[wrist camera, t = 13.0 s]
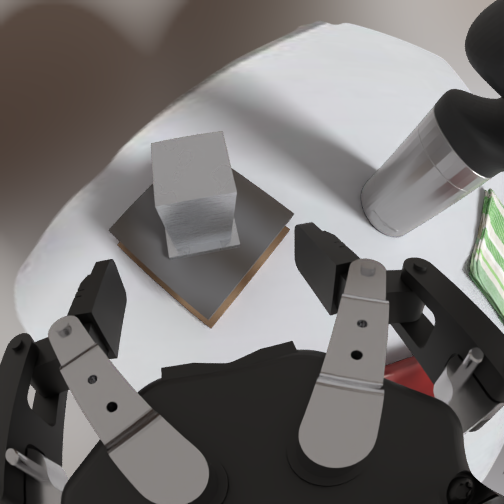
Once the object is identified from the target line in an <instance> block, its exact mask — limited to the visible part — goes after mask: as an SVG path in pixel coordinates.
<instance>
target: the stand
mask: <svg viewBox="0 0 504 504" xmlns="http://www.w3.org/2000/svg"><path fill="white" fill-rule="evenodd" d="M231 169H232V168H231ZM232 173H233V177H234V182H235V186H236V190H237V196H236V203H235V211H234V219H235V223H236V228H237V232H238V237H239V241H240V247H237V248H232V249H226V250H221V251H216V252H211V253H205V254H200V255H195V256H190V257H184V258H179V259H174V260H170V258H169V253H168V246H167V239H166V231H165V226H164V224H163V222H162V220H161V218H160V216H159V214H158V212H157V209H156V207H155V198H154V186H153V184H152V185H151V186H150V187H149V188H148V189H147V190H146V191H145V192H144V193H143V194H142V195H141V196H140V197H139V198H138V199H137V200H136V201H135V202H134V203H133V204H132V205H131V206H130V208H129V209H128V210H127V211H126V212H125V213H124V214H123V215H122V216H121V217H120V218H119V219H118V220H117V222H116V223H115V224H114V225H113V226H112V227H111V228H110V229H109V231H110V232H111V233H112V234H113V235H114V236H115V237H116V238H117V239H118V240H119V241H120V242H119V243H118V244H117V245H118V246H119V247H120V248H121V249H122V250H123V251H124V252H125V253H126V254H127V255H128V256H129V257H130V258H131V259H132V260H133V261H134V262H135V263H136V264H137V265H138V266H139V267H141V268H142V269H143V270H144V271H145V272H146V273H147V274H148V275H149V276H150V277H151V278H152V279H154V280H155V281H156V282H157V283H158V284H159V285H160V286H161V287H162V288H164V289H165V290H166V291H167V292H168V293H169V294H170V295H171V296H173V297H174V298H175V299H176V300H177V301H178V302H180V303H181V304H182V305H183V306H184V307H185V308H187V309H188V310H189V311H190V312H191V313H193V314H194V315H195V316H196V317H197V318H199V319H200V320H201V321H202V322H203V323H205V324H206V325H207V326H208V327H210V328H212V327H213V326H214V324H215V323H216V322H217V321H218V319H219V318H220V317H221V316H222V315H223V313H224V312H225V311H226V310H227V308H228V307H229V306H230V305H231V303H232V302H233V301H234V300H235V298H236V297H237V296H238V295H239V294H240V292H241V291H242V290H243V289H244V287H245V286H246V285H247V284H248V282H249V281H250V280H251V279H252V277H253V276H254V275H255V274H256V272H257V271H258V270H259V269H260V267H261V266H262V265H263V264H264V262H265V261H266V260H267V258H268V257H269V256H270V255H271V253H272V252H273V251H274V250H275V248H276V247H277V246H278V245H279V243H280V242H281V241H282V239H283V238H284V237H285V236H286V234H287V233H288V232H289V230H290V229H289V228H288V227H286V226H285V225H286V224H287V223H288V222H289V220H290V219H291V218H292V216H293V215H294V213H292V212H291V211H290V210H288V209H287V208H286V207H284V206H283V205H282V204H280V203H279V202H278V201H276V200H275V199H274V198H272V197H271V196H270V195H268V194H267V193H266V192H264V191H263V190H261V189H260V188H259V187H257V186H256V185H255V184H253V183H252V182H250V181H249V180H248V179H246V178H245V177H243V176H242V175H241V174H239V173H238V172H236V171H235V170H233V169H232Z"/></svg>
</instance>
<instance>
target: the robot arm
mask: <svg viewBox="0 0 504 504" xmlns="http://www.w3.org/2000/svg"><path fill="white" fill-rule="evenodd" d="M465 51H466V55H467V57H468V60H469V62H470V64H471V65H472V67H473V68H474V69H475V70H476V71H477V72H478V74H479V75H480V76H481V77H482V78H483V79H484V80H485V81H486V82H487V83H488V84H489V85H490V86H491V87H492V88H493V89H494V90H495V91H496V92H497V93H498V94H499V95H500V96H501V98H499V99H489V98H483V97H479V96H476V95H473V94H471V93H468V92H465V91H463V90H458V89H451V90H449V91H447V92H446V93H445V94H444V95H443V96H442V97H441V98H440V99H439V100H438V102H437V103H436V104H435V105H434V107H433V108H432V109H431V110H430V111H429V113H428V114H427V115H426V116H425V117H424V118H423V120H422V121H421V122H420V123H419V124H418V126H417V127H416V128H415V129H414V130H413V131H412V133H411V134H410V135H409V136H408V137H407V138H406V139H405V141H404V142H403V143H402V144H401V145H400V146H399V147H398V148H397V150H396V151H395V152H394V153H393V154H392V155H391V156H390V157H389V159H388V160H387V161H386V162H385V163H384V164H383V165H382V166H381V167H380V168H379V169H378V170H377V172H376V173H375V174H374V175H373V176H372V177H371V178H370V179H369V180H368V181H367V183H366V184H365V185H364V187H363V189H362V193H361V201H362V206H363V210H364V212H365V214H366V216H367V218H368V219H369V221H370V222H371V224H372V225H373V226H374V227H375V228H376V229H377V230H379V231H380V232H382V233H383V234H386V235H388V236H392V237H400V236H403V235H405V234H407V233H408V232H410V231H412V230H413V229H415V228H416V227H418V226H420V225H422V224H423V223H425V222H426V221H428V220H430V219H431V218H433V217H434V216H436V215H438V214H439V213H441V212H442V211H444V210H445V209H447V208H448V207H450V206H451V205H453V204H455V203H456V202H458V201H459V200H461V199H462V198H464V197H465V196H467V195H468V194H469V193H471V192H472V191H474V190H475V189H477V188H478V187H479V186H481V185H482V184H484V183H485V182H487V181H488V180H489V179H491V178H492V177H494V176H495V175H496V174H498V173H500V172H503V171H504V0H497V1H495V2H494V3H492V4H491V5H490V6H488V7H487V8H486V9H485V10H484V11H483V12H482V13H480V15H479V16H478V17H477V18H476V19H475V21H474V22H473V24H472V25H471V27H470V28H469V31H468V34H467V37H466V40H465ZM295 262H296V266H297V268H298V270H299V271H300V273H301V274H302V276H303V277H304V279H305V280H306V281H307V283H308V284H309V286H310V287H311V289H312V290H313V291H314V293H315V294H316V296H317V297H318V299H319V300H320V301H321V303H322V304H323V306H324V307H325V309H326V310H327V312H328V313H329V315H334V314H337V317H336V321H335V324H334V328H333V332H332V335H331V339H330V342H329V346H328V349H327V353H324V352H319V351H314V350H297V349H296V347H295V345H294V343H293V341H290V342H286V343H282V344H279V345H275V346H271V347H267V348H263V349H260V350H257V351H255V352H253V353H251V354H249V355H247V356H244V357H242V358H240V359H238V360H235V361H233V362H231V363H190V364H184V365H177V366H171V367H164V368H161V372H162V378H160V379H158V380H156V381H154V382H151V383H150V384H148V385H147V386H145V387H144V388H142V389H141V390H140V391H139V392H138V393H137V392H136V391H135V390H134V388H133V387H132V386H131V385H130V384H129V383H128V382H127V380H126V379H125V378H124V377H123V376H122V375H121V373H120V372H119V371H118V370H117V369H116V367H115V366H114V365H113V364H112V362H111V361H110V360H109V359H114V358H117V357H118V350H119V343H120V336H121V330H122V324H123V318H124V313H125V307H126V301H127V299H126V292H125V289H124V286H123V283H122V281H121V278H120V275H119V273H118V270H117V267H116V264H115V262H114V260H113V259H109V260H104V261H99V262H96V263H95V266H94V268H93V270H92V272H91V275H88V276H87V277H86V278H85V279H84V280H83V281H82V282H81V284H80V286H79V288H78V292H77V293H76V295H75V298H74V300H73V302H72V305H71V307H70V310H69V312H68V315H67V316H65V317H62V318H60V319H59V320H57V321H56V322H55V323H54V324H53V325H52V326H51V328H50V329H49V332H48V337H47V338H44V339H42V340H39V341H37V342H34V340H33V339H32V337H31V336H30V335H29V334H27V333H22V334H19V335H17V336H16V337H14V338H13V339H12V340H11V341H10V343H9V344H8V346H7V348H6V351H5V353H4V356H3V359H2V362H1V364H0V504H504V496H503V495H501V494H499V493H497V492H495V491H493V490H491V489H489V488H488V487H486V486H485V485H483V484H482V483H481V482H479V481H478V480H477V479H476V478H475V477H474V476H473V474H472V473H471V471H470V469H469V466H468V463H467V459H466V455H465V449H464V438H463V435H464V434H466V433H467V432H468V431H469V432H473V431H477V430H478V429H480V428H481V427H482V426H483V425H484V424H485V423H486V422H488V421H489V420H490V419H491V418H492V417H493V416H494V415H495V414H496V413H497V412H498V411H499V410H500V409H501V408H502V407H503V406H504V334H503V333H502V332H501V331H500V330H499V328H498V327H497V326H496V325H495V324H494V323H493V322H492V321H491V320H490V319H489V318H488V317H487V316H486V315H485V314H484V313H483V312H482V311H481V310H480V309H479V308H478V306H477V305H476V304H474V303H473V302H472V301H471V300H470V299H469V298H468V297H467V296H466V295H465V294H464V293H463V292H462V291H461V290H460V289H459V288H458V287H457V286H456V285H455V284H454V283H453V282H451V281H450V280H449V279H448V278H447V277H446V276H445V275H444V274H443V273H441V272H440V271H439V270H438V269H437V268H436V267H435V266H433V265H432V264H431V263H430V262H428V261H426V260H424V259H421V258H408V259H406V260H405V261H404V264H403V268H402V270H386V269H385V267H384V266H383V265H382V264H381V263H379V262H378V261H375V260H372V259H360V258H359V257H358V256H357V255H356V254H355V253H354V252H353V251H351V250H350V249H349V248H348V247H347V246H346V245H345V244H344V243H343V242H341V241H340V240H339V239H338V238H337V237H336V236H335V235H333V234H331V233H329V232H326V231H322V230H321V229H319V228H318V227H317V226H316V225H315V224H314V223H313V222H311V223H305V224H299V225H296V226H295ZM425 305H426V306H427V307H428V308H429V309H430V310H431V311H432V313H433V314H434V317H435V326H433V324H432V323H431V322H430V321H429V320H428V319H427V317H426V316H425V315H424V314H423V313H422V311H423V308H424V306H425ZM388 324H391V325H392V327H393V328H394V329H395V331H396V332H397V333H398V335H399V336H400V337H401V339H402V340H403V342H404V343H405V344H406V346H407V347H408V348H409V350H410V351H411V353H412V354H413V355H414V357H415V358H416V360H417V361H418V363H419V364H420V365H421V367H422V368H423V370H424V371H425V373H426V374H427V376H428V377H429V378H430V380H431V381H432V383H433V384H434V389H433V391H434V396H435V397H432V396H429V395H427V394H424V393H421V392H419V391H416V390H413V389H411V388H408V387H406V386H403V385H401V384H398V383H396V382H393V381H391V380H388V379H386V378H384V371H385V361H386V351H387V338H388ZM30 385H31V386H33V388H34V389H35V390H36V393H35V398H34V403H33V408H32V409H31V408H30V406H29V404H28V400H27V395H28V390H29V386H30ZM68 390H70V391H71V393H72V394H73V396H74V398H75V400H76V402H77V403H78V405H79V407H80V408H81V410H82V412H83V413H84V415H85V417H86V418H87V420H88V421H89V423H90V424H91V426H92V427H93V429H94V431H95V432H96V433H97V435H98V436H99V438H100V440H99V442H98V443H97V444H96V445H95V447H94V448H93V449H92V450H91V452H90V453H89V454H88V456H87V457H86V458H85V459H84V461H83V462H82V463H81V464H80V466H79V467H78V468H77V470H76V471H75V472H74V473H73V475H72V476H71V477H70V479H69V480H68V478H67V475H66V473H65V471H64V470H63V468H62V446H63V429H64V417H65V408H66V400H67V392H68Z"/></svg>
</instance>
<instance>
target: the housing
mask: <svg viewBox="0 0 504 504" xmlns="http://www.w3.org/2000/svg"><path fill="white" fill-rule="evenodd" d="M151 154H152V172H153V186H154V198H155V207H156V209H157V212H158V214H159V216H160V218H161V220H162V222H163V224H164V226H165V231H166V239H167V246H168V253H169V258H170V260H174V259H179V258H184V257H190V256H195V255H200V254H205V253H211V252H216V251H221V250H226V249H232V248H237V247H240V241H239V237H238V232H237V228H236V223H235V219H234V211H235V203H236V196H237V190H236V186H235V182H234V177H233V173H232V169H231V165H230V160H229V156H228V152H227V148H226V143H225V139H224V135H223V131H220V132H212V133H205V134H199V135H192V136H186V137H181V138H175V139H170V140H165V141H160V142H155V143H151Z"/></svg>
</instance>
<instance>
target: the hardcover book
mask: <svg viewBox="0 0 504 504" xmlns="http://www.w3.org/2000/svg"><path fill="white" fill-rule="evenodd" d="M384 378H386V379H388V380H391V381H393V382H396V383H398V384H401V385H403V386H406V387H408V388H411V389H413V390H416V391H419V392H421V393H424V394H427V395H429V396H432V397H435V396H434V391H433V389H434V384H433V383H432V381H431V380H430V378H429V377H428V376H427V374H426V373H425V371H424V370H423V368H422V367H421V365H420V364H419V363H418V361H417V360H416V358H415V357H414V356H412V357H409V358H406V359H404V360H401V361H398V362H395V363H392V364H389V365H386V366H385V371H384Z"/></svg>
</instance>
